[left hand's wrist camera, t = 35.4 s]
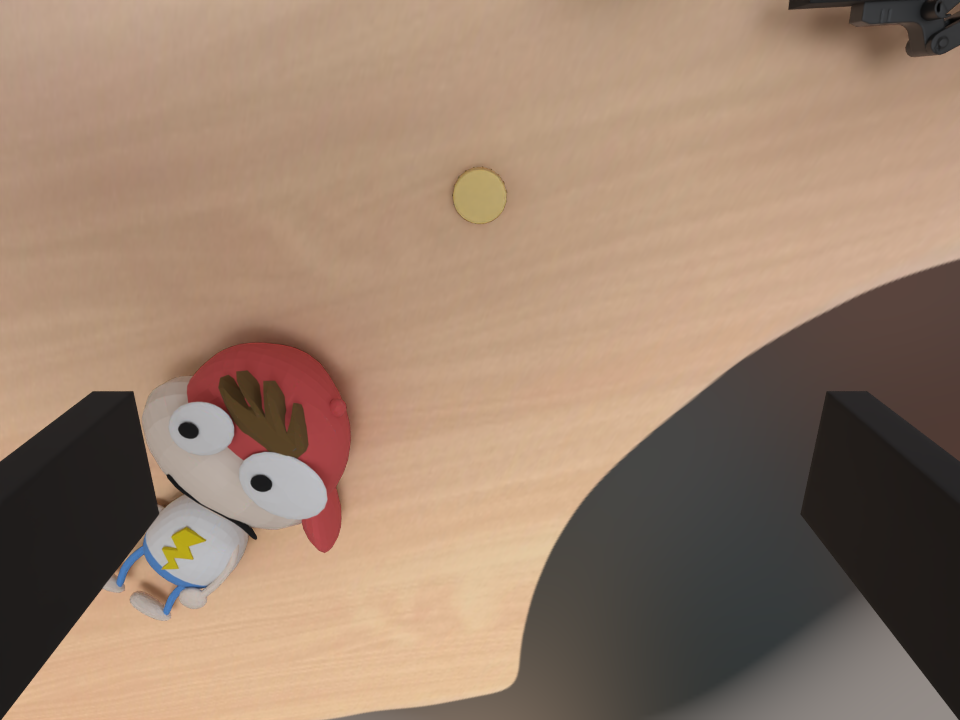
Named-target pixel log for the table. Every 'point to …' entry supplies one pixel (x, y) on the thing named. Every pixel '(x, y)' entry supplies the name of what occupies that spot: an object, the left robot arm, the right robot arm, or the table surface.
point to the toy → (239, 465)
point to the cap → (479, 195)
